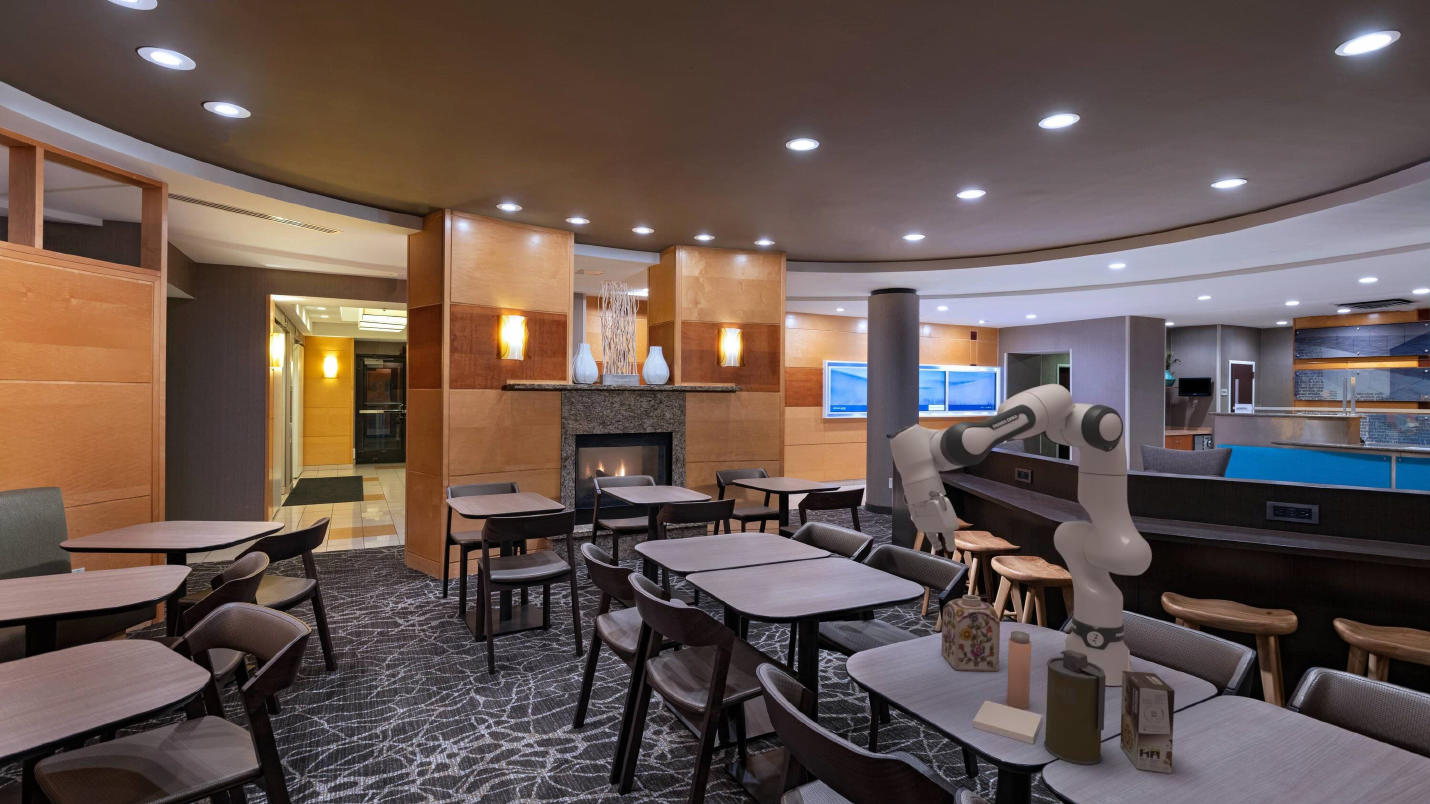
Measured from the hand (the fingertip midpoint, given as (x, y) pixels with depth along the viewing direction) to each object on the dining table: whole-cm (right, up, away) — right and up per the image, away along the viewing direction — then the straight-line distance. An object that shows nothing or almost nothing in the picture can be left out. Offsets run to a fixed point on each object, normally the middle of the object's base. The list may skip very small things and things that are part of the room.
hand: (945, 550), depth 159 cm
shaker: (+17, -36, +1) cm, 40 cm away
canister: (+19, -37, -20) cm, 46 cm away
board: (+11, -36, -9) cm, 39 cm away
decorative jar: (+15, -36, +26) cm, 47 cm away
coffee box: (+33, -37, -22) cm, 54 cm away
